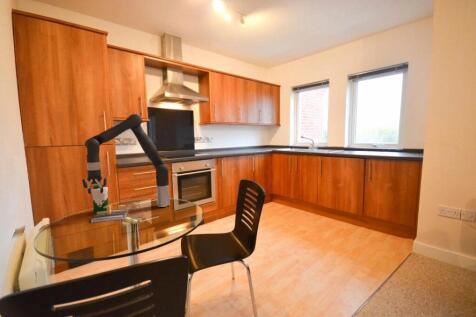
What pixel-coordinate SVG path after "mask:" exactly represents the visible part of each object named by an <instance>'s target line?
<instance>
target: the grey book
mask: <svg viewBox="0 0 476 317" xmlns="http://www.w3.org/2000/svg"><path fill="white" fill-rule="evenodd" d="M127 210H128V209H127V208H125V209H116V210H115V209H114V210H111V213H116V212H126V211H127ZM105 213H107V211H102V212H97V214H105ZM123 216H124V214H117V215H107V216H97V217H95V216H93V217H92V218H91V220H92V219H93V220H98V219H108V218H118V217H123Z"/></svg>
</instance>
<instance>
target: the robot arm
mask: <svg viewBox="0 0 476 317" xmlns="http://www.w3.org/2000/svg"><path fill="white" fill-rule="evenodd" d="M142 124H143V118H142V117H141V116H140V115H139V114H137V113H133V114H130V115H128V117H127V118H125V119H124V120H122V121H121V122H120V123H118V124H116V125H113V126H112V127H110V128H108V129H105V130H104V131H102V132H100V133H98V134H96V135H93V136H92V137H89V138H87V139H86V140H85V142H84V147H86V151H87V154H86V170H87V171H86V173H87V178H83V179H81V182H82V185H83V188H84V189H87V193H88V194H89V195H92V192H91V189H92V188H91V187H92V186H93V185H99V186H100V193H103V187H107V182H108V178H107V177H103V176H102V168H101V162H100V161H101V160H100V158H101V157H100V146H101V145H102V144H106V143H108V142H110V141H112V140H113V139H116V138H117V137H119V135H122V134H123V133H125V132H126V131H129V130H131V132H132V133H133V134H134V136H135V138H136V140H137V142H138V143H139V145H140V148H141V149H142V151H143V152H144V154H145V155H146V157H147V158H148V159H149V160H150V161H151V163H152V164H153V167H154V169H155V182H156V183H155V184H156V201H157V202H156V204H157V206H158V207H165V206H167V205H171V204H170V202H171V201H170V183H169V182H170V180H169V179H170V178H169V177H170V175H169V173H170V172H169V168H168V166H167V164H165V162H164V160H163V159H162V158H161V156H160V153H159V151H158V149H157V147H156V145H155V143H154V141H153V140H152V139H151V137H149V135H148V134H147V133H146V132H145V131H144V129H143V126H142ZM102 181H103V182H102ZM87 182H88V183H87ZM158 207H157V208H158Z"/></svg>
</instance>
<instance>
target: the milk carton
mask: <svg viewBox="0 0 476 317" xmlns="http://www.w3.org/2000/svg"><path fill="white" fill-rule="evenodd" d="M108 189H109V187H107V186H105V187H103V193H100V186H99V185H98V184H93V185H92V188H91V196H92V205H93V207H92V209H93V214H95V215H96V214H97V212H102V211H107V205H109V195H108Z"/></svg>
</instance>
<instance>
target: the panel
mask: <svg viewBox="0 0 476 317" xmlns="http://www.w3.org/2000/svg"><path fill="white" fill-rule="evenodd" d="M129 212H130V211H129V210H128V209H127V211H126V212H116V213H113V215H117V214H124V216H123V217H118V218H108V219H98V220H93V219H92V218H91V220H90V223H91V224H92V223H100V222H101V223H102V222H110V221H112V222H113V221H120V220H121V219H122V220H125V219H124V218H125V217H126V216H127V217H128V215H129ZM105 214H106V213H105ZM105 214H95V215H94V217H97V216H105ZM127 214H128V215H127ZM127 217H126V218H127Z"/></svg>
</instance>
